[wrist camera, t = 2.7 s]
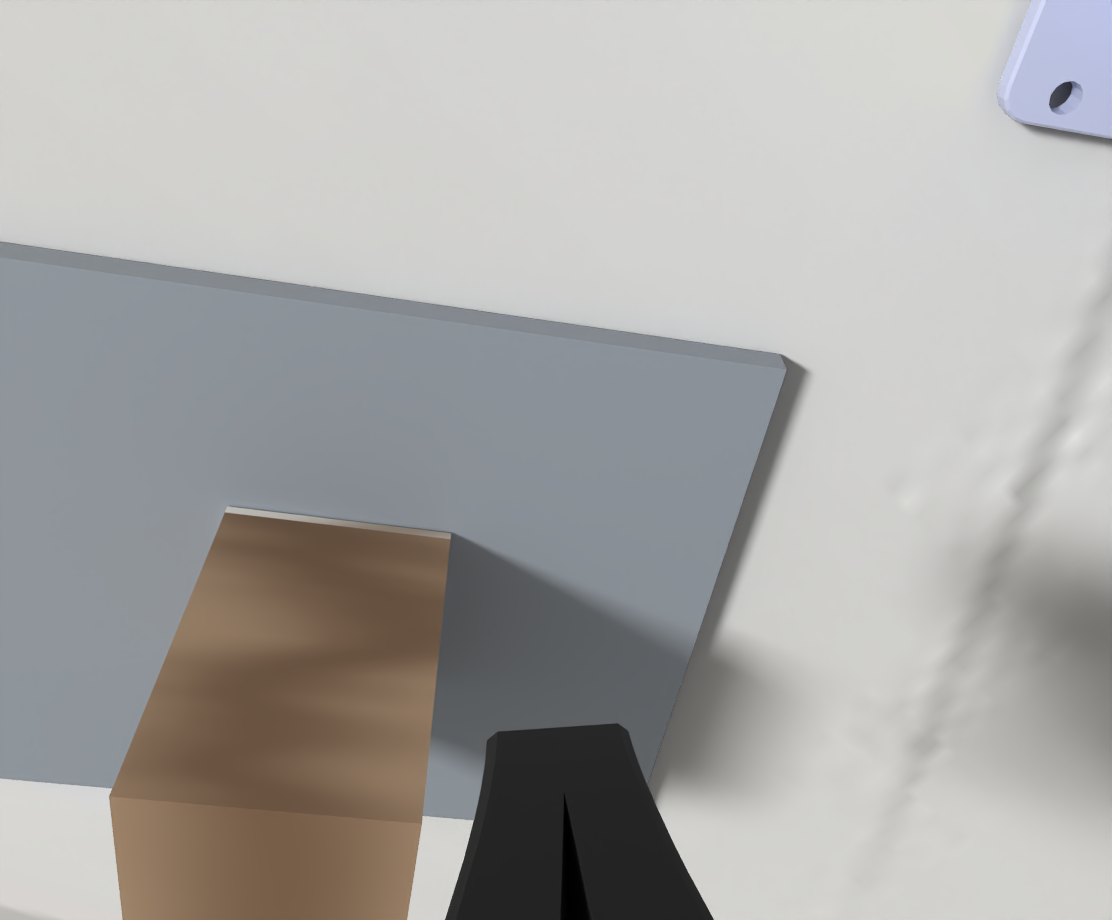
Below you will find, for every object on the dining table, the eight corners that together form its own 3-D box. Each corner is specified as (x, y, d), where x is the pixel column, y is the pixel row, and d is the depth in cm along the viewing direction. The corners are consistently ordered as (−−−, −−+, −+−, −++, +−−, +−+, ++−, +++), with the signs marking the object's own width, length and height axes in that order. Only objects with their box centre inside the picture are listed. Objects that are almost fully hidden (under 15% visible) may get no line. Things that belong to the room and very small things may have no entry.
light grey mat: (780, 354, 20) (786, 369, 19) (629, 814, 27) (630, 834, 27) (-353, 191, 17) (-379, 203, 17) (-171, 742, 25) (-185, 761, 25)
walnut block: (451, 531, 21) (421, 824, 15) (429, 684, 24) (396, 986, 18) (227, 504, 21) (109, 796, 15) (229, 664, 23) (128, 967, 17)
